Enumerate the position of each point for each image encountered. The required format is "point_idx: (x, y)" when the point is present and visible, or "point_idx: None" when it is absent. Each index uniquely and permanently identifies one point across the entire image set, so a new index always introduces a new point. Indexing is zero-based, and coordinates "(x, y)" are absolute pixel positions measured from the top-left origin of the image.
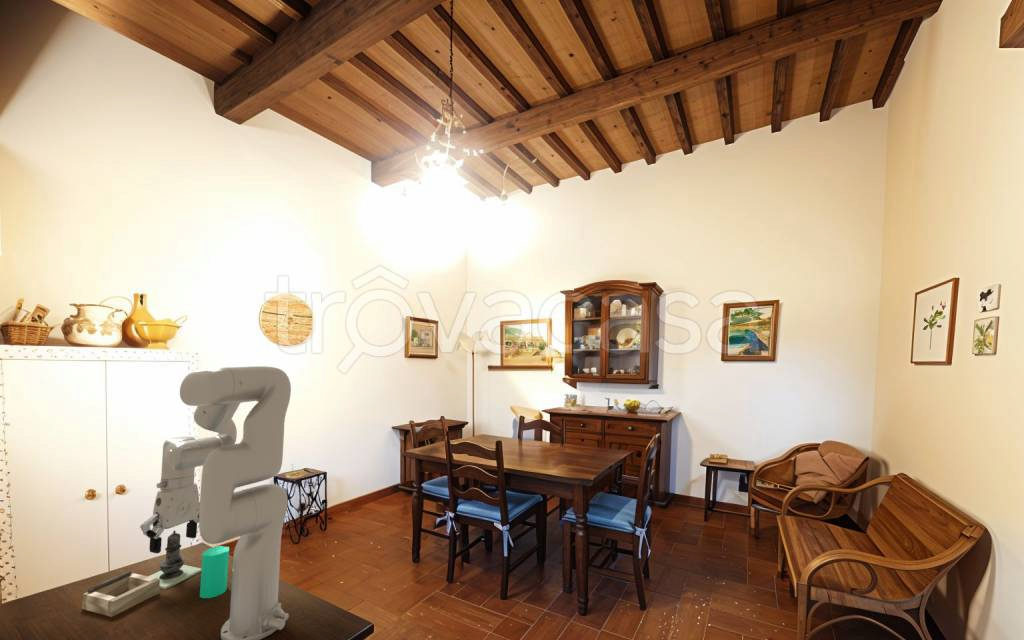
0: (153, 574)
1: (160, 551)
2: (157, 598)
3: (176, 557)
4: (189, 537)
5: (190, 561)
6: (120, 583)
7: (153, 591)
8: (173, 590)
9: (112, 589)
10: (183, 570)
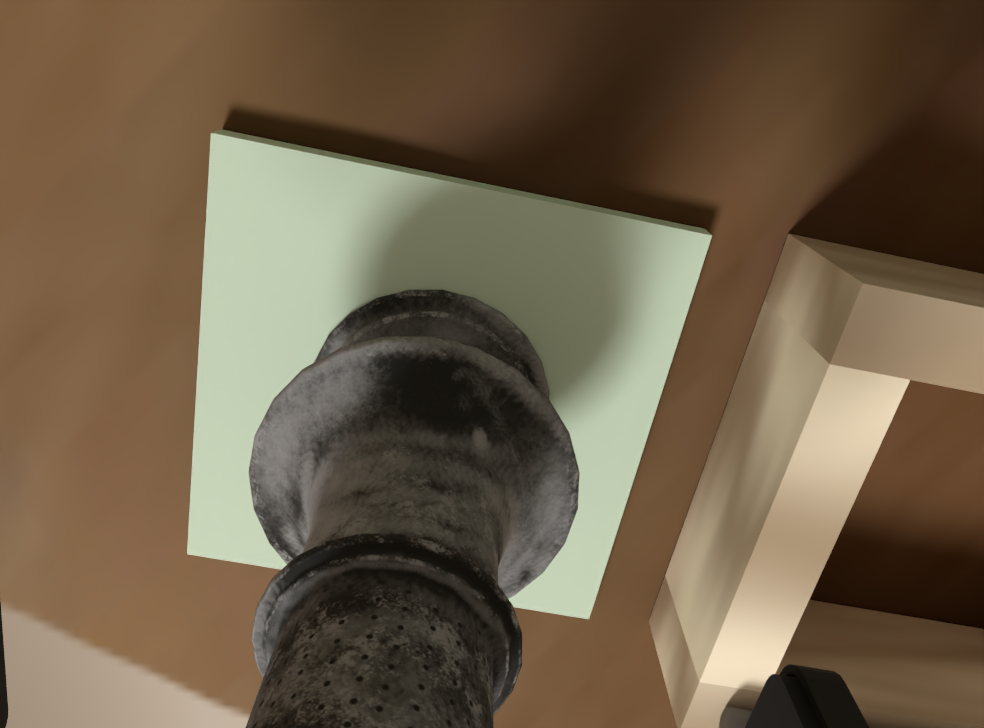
0: None
1: (787, 674)
2: (908, 149)
3: (431, 455)
4: (2, 646)
5: (69, 467)
6: None
7: (875, 261)
8: (726, 103)
9: (894, 666)
10: (310, 347)
